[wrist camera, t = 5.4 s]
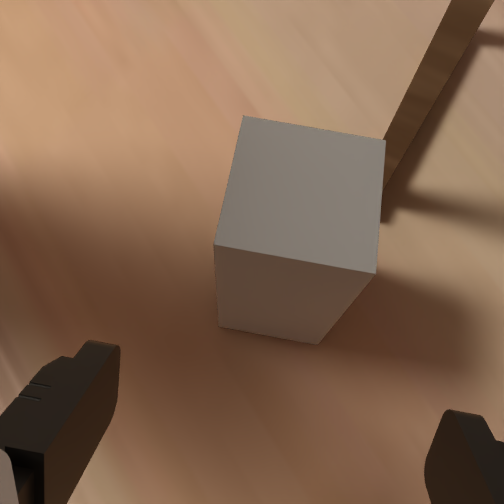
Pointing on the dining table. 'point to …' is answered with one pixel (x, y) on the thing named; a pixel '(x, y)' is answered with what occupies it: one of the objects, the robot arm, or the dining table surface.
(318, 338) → the granite block
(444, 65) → the frame
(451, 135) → the dining table surface
